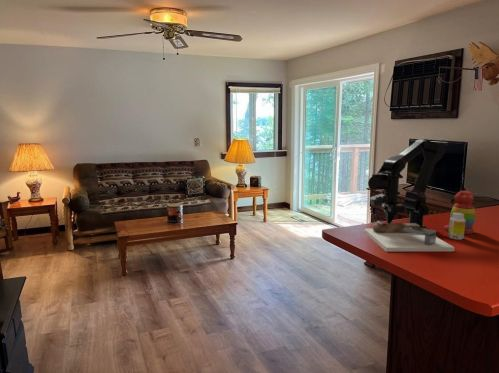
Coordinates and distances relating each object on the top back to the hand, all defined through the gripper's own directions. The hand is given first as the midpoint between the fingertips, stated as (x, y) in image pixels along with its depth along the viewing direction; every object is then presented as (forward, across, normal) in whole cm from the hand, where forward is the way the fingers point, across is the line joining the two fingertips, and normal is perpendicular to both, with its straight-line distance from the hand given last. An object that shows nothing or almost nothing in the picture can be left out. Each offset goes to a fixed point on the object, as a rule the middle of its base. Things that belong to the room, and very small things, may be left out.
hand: (388, 223), depth 160 cm
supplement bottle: (+3, +12, +23) cm, 26 cm away
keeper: (+1, +21, +4) cm, 21 cm away
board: (+2, +16, 0) cm, 16 cm away
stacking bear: (+3, +2, +31) cm, 31 cm away
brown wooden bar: (0, +8, 0) cm, 8 cm away
